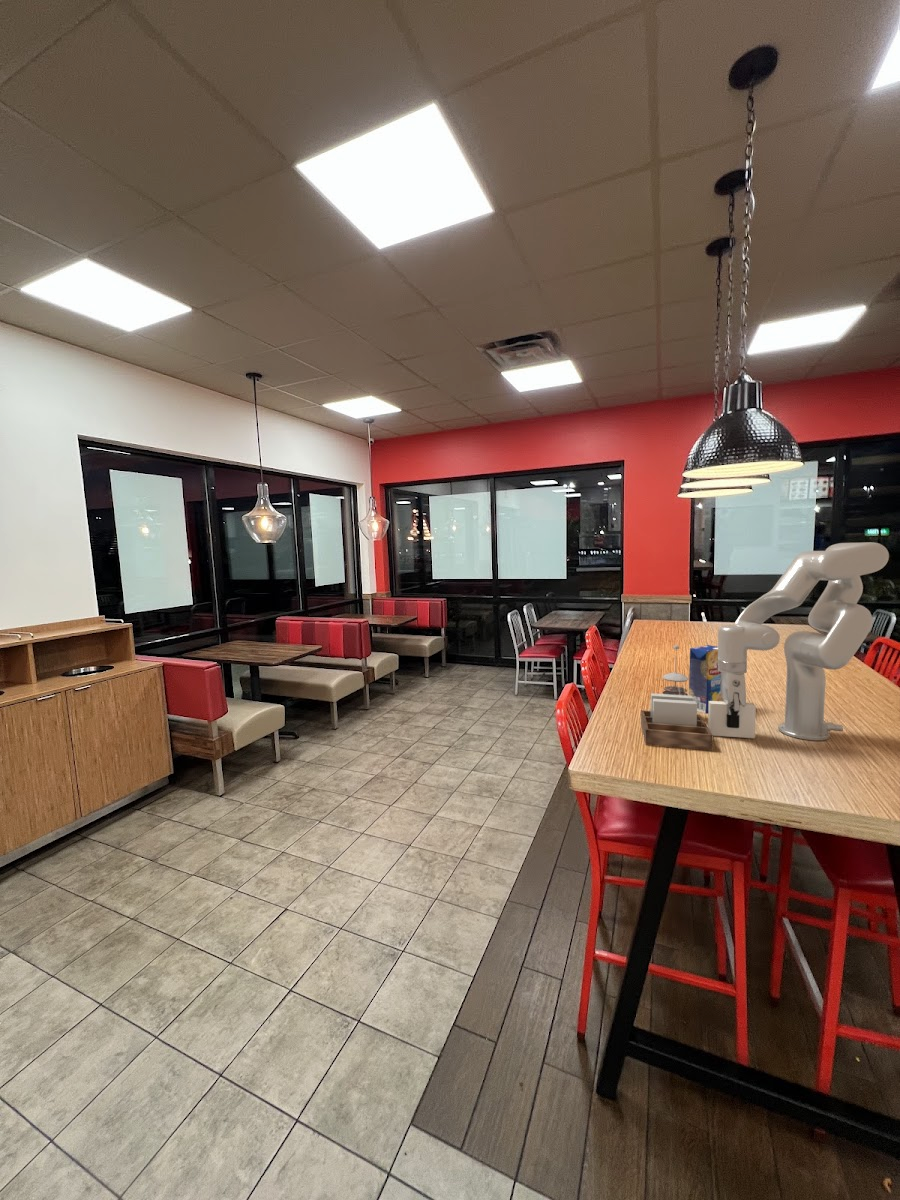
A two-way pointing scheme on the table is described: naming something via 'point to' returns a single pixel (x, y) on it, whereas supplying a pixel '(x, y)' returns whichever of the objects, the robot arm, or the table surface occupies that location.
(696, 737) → the rack
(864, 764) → the table surface
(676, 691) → the french press
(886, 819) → the table surface
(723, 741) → the table surface
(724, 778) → the table surface
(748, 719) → the plate
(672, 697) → the racked plate far
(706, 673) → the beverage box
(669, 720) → the racked plate mid
